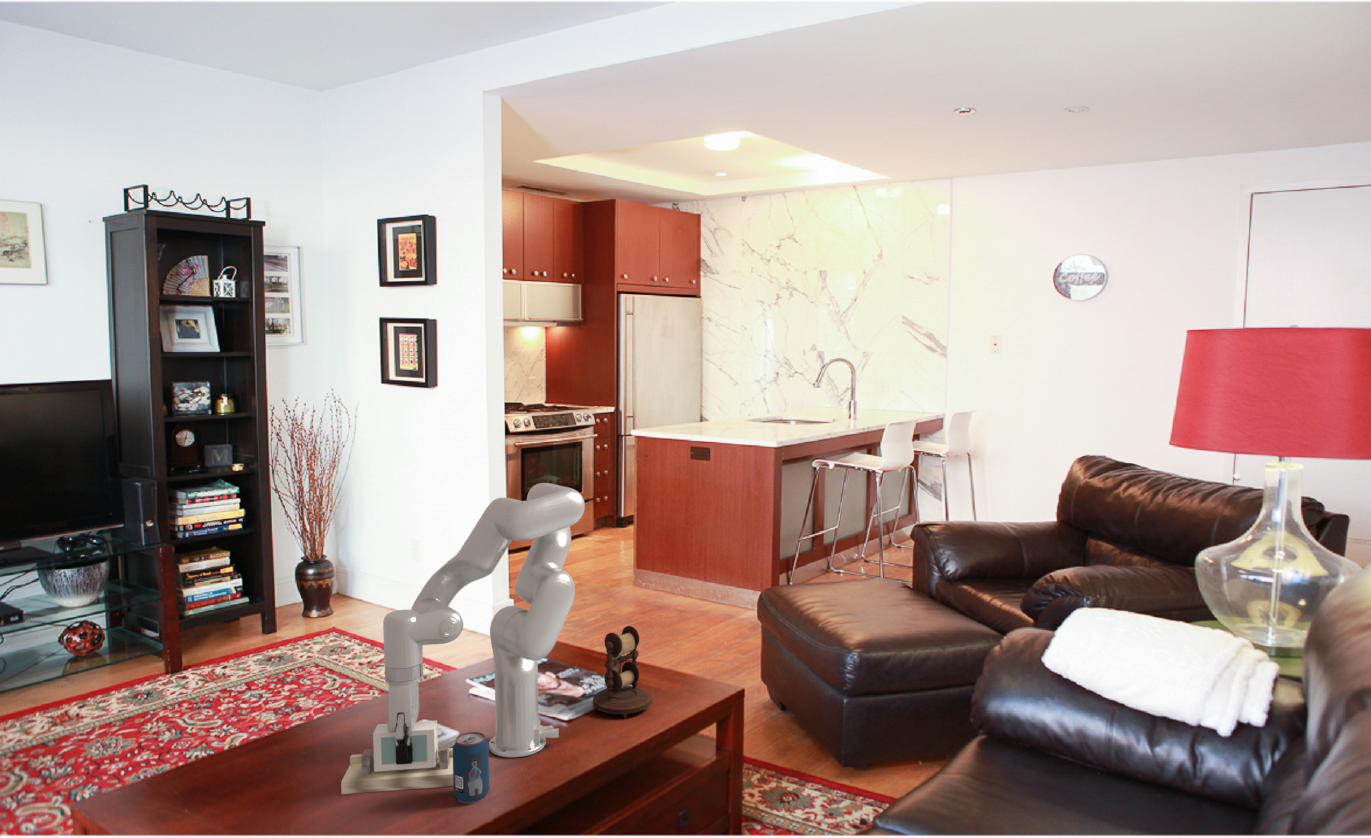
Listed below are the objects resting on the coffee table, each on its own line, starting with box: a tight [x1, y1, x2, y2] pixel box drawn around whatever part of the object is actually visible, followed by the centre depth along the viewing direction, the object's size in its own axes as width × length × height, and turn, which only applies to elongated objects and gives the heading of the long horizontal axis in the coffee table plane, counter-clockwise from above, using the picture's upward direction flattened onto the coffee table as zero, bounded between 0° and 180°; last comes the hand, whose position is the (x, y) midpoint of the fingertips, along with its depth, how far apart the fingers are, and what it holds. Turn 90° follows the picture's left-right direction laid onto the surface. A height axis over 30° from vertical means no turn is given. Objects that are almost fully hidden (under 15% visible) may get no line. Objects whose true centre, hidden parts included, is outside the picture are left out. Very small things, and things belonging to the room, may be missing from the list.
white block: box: [372, 719, 439, 772], centre depth 181 cm, size 12×4×8 cm, turn 98°
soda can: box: [452, 731, 490, 805], centre depth 174 cm, size 7×7×12 cm
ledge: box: [340, 743, 453, 795], centre depth 182 cm, size 24×9×6 cm, turn 98°
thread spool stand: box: [592, 625, 653, 720], centre depth 218 cm, size 15×15×20 cm
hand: (406, 756), depth 181 cm, fingers closed on white block, 4 cm apart
